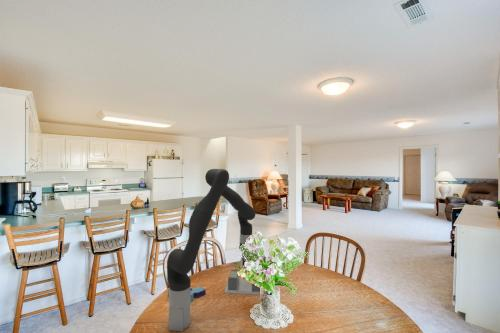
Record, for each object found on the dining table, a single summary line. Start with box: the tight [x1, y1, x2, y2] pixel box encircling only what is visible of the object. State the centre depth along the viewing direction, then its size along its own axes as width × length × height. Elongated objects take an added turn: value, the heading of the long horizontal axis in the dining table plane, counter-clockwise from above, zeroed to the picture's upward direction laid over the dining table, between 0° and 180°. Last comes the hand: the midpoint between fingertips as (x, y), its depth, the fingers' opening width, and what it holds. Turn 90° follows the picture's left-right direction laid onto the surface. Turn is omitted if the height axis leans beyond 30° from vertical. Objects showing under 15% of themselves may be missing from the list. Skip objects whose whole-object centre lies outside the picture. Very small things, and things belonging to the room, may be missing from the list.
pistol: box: [167, 285, 207, 304], centre depth 136 cm, size 4×16×15 cm
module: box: [239, 257, 243, 269], centre depth 144 cm, size 4×6×8 cm, turn 85°
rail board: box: [224, 269, 261, 296], centre depth 144 cm, size 14×22×8 cm, turn 85°
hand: (245, 270), depth 144 cm, fingers closed on module, 4 cm apart
